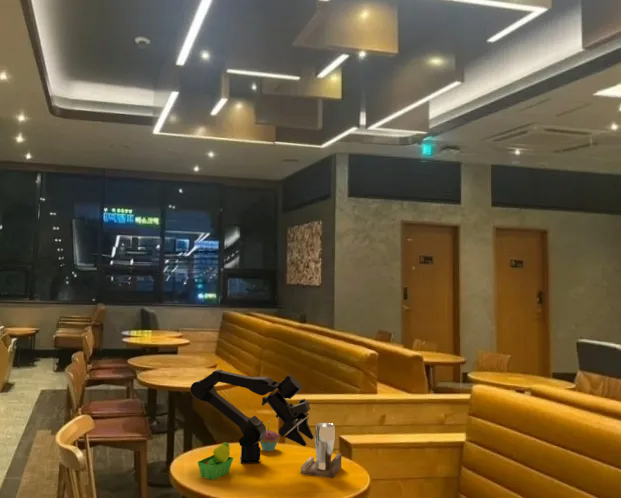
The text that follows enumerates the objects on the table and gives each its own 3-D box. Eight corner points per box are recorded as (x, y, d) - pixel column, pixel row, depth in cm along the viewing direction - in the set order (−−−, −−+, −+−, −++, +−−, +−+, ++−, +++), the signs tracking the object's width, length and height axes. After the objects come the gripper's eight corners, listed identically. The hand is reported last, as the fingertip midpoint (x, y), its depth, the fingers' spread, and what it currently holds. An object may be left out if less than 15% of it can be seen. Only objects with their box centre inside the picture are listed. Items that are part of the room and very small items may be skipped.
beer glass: (335, 470, 218) (337, 427, 219) (315, 471, 217) (317, 427, 217) (330, 464, 225) (332, 422, 225) (311, 465, 224) (313, 422, 224)
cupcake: (278, 453, 239) (279, 421, 240) (255, 452, 239) (257, 420, 240) (279, 446, 248) (280, 416, 248) (258, 445, 248) (259, 415, 248)
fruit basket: (215, 468, 219) (216, 435, 219) (236, 472, 215) (238, 439, 215) (195, 477, 209) (197, 443, 209) (217, 482, 205) (219, 447, 205)
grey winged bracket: (300, 473, 217) (301, 459, 217) (310, 463, 228) (311, 449, 229) (333, 478, 214) (333, 463, 214) (341, 467, 225) (341, 453, 225)
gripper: (289, 397, 216) (318, 434, 212) (304, 388, 233) (332, 421, 230) (266, 418, 218) (295, 454, 214) (283, 407, 235) (310, 440, 232)
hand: (309, 442), depth 223 cm, fingers open, 9 cm apart
